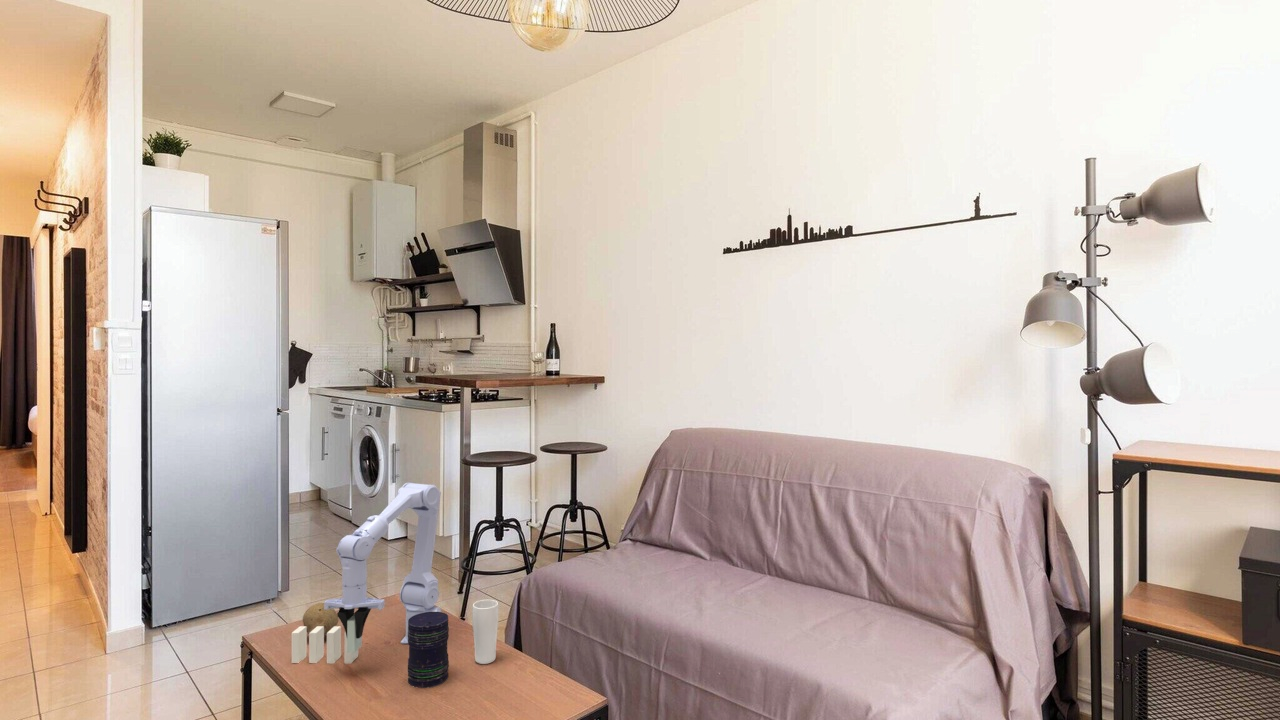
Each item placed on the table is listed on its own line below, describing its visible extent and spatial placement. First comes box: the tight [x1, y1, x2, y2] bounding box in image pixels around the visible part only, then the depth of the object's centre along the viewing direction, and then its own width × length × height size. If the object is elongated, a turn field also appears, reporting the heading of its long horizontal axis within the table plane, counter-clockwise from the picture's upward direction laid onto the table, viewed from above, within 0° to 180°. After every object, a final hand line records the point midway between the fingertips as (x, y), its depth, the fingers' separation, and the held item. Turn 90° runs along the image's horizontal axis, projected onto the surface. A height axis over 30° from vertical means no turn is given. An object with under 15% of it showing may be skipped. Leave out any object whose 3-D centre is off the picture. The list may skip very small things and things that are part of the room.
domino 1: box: [291, 625, 308, 664], centre depth 178 cm, size 2×4×8 cm, turn 0°
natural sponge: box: [302, 602, 339, 637], centre depth 192 cm, size 9×9×10 cm
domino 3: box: [326, 625, 342, 664], centre depth 178 cm, size 2×4×8 cm, turn 0°
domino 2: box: [308, 626, 325, 664], centre depth 178 cm, size 2×4×8 cm, turn 0°
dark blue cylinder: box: [407, 611, 450, 689], centre depth 168 cm, size 10×10×15 cm
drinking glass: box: [471, 599, 499, 665], centre depth 178 cm, size 7×7×15 cm
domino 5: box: [343, 631, 359, 665], centre depth 178 cm, size 2×4×8 cm, turn 0°
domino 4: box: [347, 615, 363, 653], centre depth 170 cm, size 2×4×8 cm, turn 0°
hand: (354, 636), depth 170 cm, fingers closed on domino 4, 2 cm apart
